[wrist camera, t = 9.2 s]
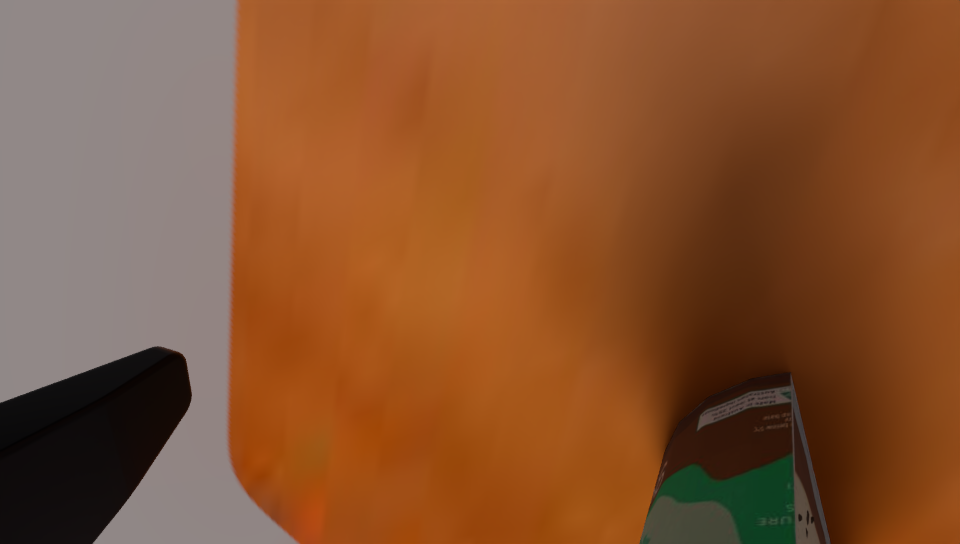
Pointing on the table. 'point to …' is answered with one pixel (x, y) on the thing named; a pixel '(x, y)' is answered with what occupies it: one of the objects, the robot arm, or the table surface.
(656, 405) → the table surface
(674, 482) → the food container
